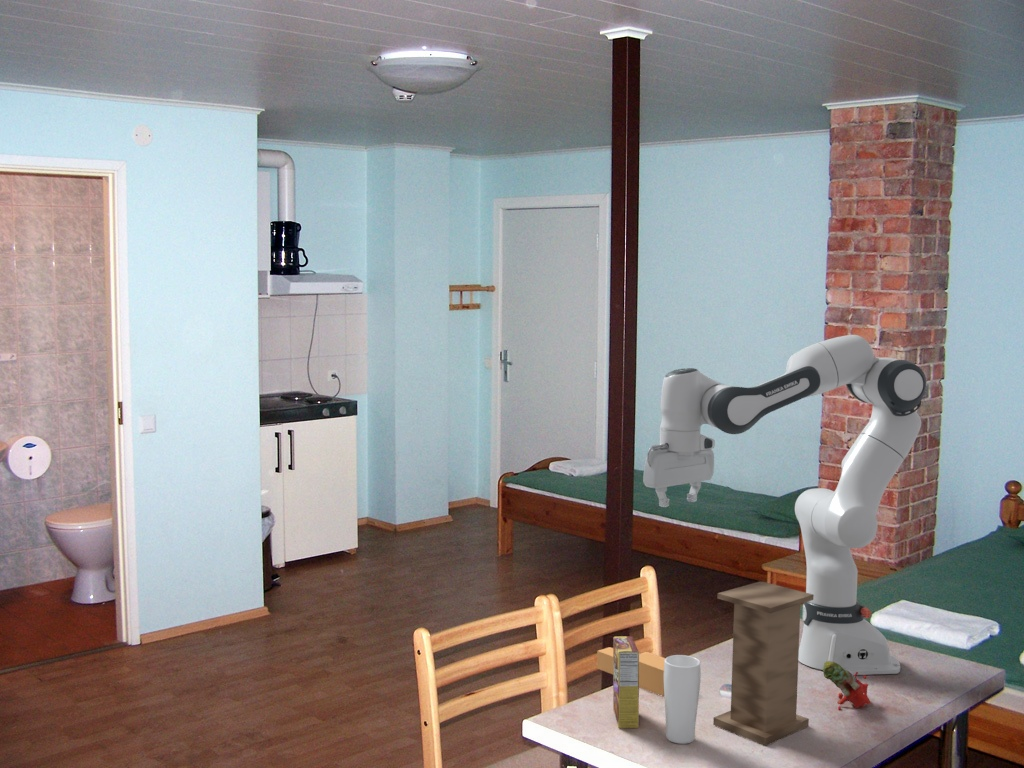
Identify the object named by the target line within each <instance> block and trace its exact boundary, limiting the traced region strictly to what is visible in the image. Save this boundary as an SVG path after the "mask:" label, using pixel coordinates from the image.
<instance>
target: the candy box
mask: <svg viewBox="0 0 1024 768" xmlns="http://www.w3.org/2000/svg"><path fill="white" fill-rule="evenodd" d="M612 638H613V640H612V641H613V642H612V644H613V645H612V646H613V647H612V648H613V674H612V676H613V677H612V681H613V682H612V686H613V687H612V690H613V691H612V695H613V698H612V699H613V700H612V701H613V703H612V705H613V707H612V708H613V713H614V717H615V720H616V723H617V728H618V729H639V724H640V723H639V722H640V721H639V719H640V718H639V711H640V705H639V704H640V703H639V702H640V699H639V698H640V695H639V694H640V692H639V691H640V687H639V654H640V651H639V649H638V647H637V645H636V642H635V640H634V637H633V636H626V635H625V636H623V635H621V636H620V635H619V636H613V637H612Z"/></svg>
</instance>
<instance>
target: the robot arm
mask: <svg viewBox="0 0 1024 768" xmlns="http://www.w3.org/2000/svg"><path fill="white" fill-rule="evenodd" d="M842 386H846V389H847V391H849V393H850V394H851V395H852V397H854V398H855V399H857V400H858V401H860V402H862V403H865V404H866V403H867V404H871V405H872V410H871V411H872V412H871V415H870V418H869V420H868V423H866V425H865V427H864V428H863V429H862V430H861V432H860V433H859V435H858V436H857V438H856V439H855V440H854V442H853V443H852V445H851V447H850V448H849V449H848V451H846V452H847V453H846V454H845V455H844V456H843V458H842V460H841V474H840V477H839V481H838V483H837V485H836V488H835V490H831V489H829V488H823V487H822V488H820V487H819V488H818V487H816V488H809V489H806V490H805V491H802V493H800V495H798V497H797V498H796V500H795V504H794V513H795V517H796V520H797V522H798V523H799V527H800V532H801V537H802V538H801V539H802V543H803V548H804V549H803V550H804V554H805V562H806V577H805V578H806V580H805V581H806V582H805V586H806V587H805V588H806V589H805V593H809V594H813V595H814V597H813V600H811V601H808V602H805V603H802V623H803V626H802V633H801V639H800V642H799V656H798V662H799V663H801V664H803V665H805V666H808V667H810V668H813V669H816V670H820V671H823V666H824V663H825V662H826V661H831V662H835V663H837V664H839V665H840V666H841V667H842V668H843V669H844V670H847V671H849V672H850V673H851V674H852V675H855V674H856V672H858V674H857V675H856V676H858V675H861V676H864V675H865V676H868V675H896V674H899V673H900V672H901V664H900V662H899V660H898V659H897V658H896V656H894V655H892V654H891V651H890V645H889V642H888V640H887V638H886V636H885V635H884V633H882V632H881V631H880V630H878V628H876V627H875V626H874V625H872V624H871V623H870V622H869V621H867V620H866V619H869V618H870V617H871V616H872V611H871V610H870V609H869V608H868V607H865V605H863V604H862V603H860V602H859V601H858V600H857V596H858V595H857V593H858V574H859V573H858V568H857V565H856V561H855V560H854V557H853V554H852V550H851V549H861V548H864V547H866V546H868V545H869V544H871V543H872V542H873V540H874V539H875V537H876V535H877V533H878V527H879V526H878V524H879V523H878V519H877V514H878V511H879V507H880V505H881V502H882V497H883V495H884V493H885V491H886V489H887V487H888V485H889V483H890V482H891V481H892V479H893V477H894V476H895V475H896V474H897V473H896V472H897V471H898V469H899V468H900V467H901V465H902V464H903V462H904V461H905V460H906V458H907V456H908V455H909V453H910V451H911V449H912V448H913V446H914V444H915V441H916V439H917V437H918V435H919V434H920V433H919V432H920V430H921V428H922V420H921V417H920V415H919V413H918V412H917V411H918V410H919V409H920V408H921V405H922V400H923V398H924V395H925V393H926V389H927V377H926V374H925V372H924V371H923V370H922V368H921V367H919V366H918V365H917V364H915V363H913V362H911V361H909V360H906V359H898V358H895V357H887V356H885V357H877V356H876V355H875V354H874V350H873V348H872V346H871V345H870V343H869V341H868V340H866V338H865V337H863V336H861V335H857V334H847V335H842V336H841V335H840V336H837V337H832V338H828V339H824V340H822V341H819V342H816V343H813V344H810V345H808V346H806V347H803V348H801V349H800V350H797V351H796V352H795V353H794V354H793V353H792V354H791V356H790V357H789V358H788V360H787V362H786V367H785V372H784V373H783V374H781V375H779V376H777V377H774V378H772V379H769V380H767V381H765V382H762V383H760V384H758V385H755V386H751V387H743V386H732V385H728V384H724V383H721V382H719V381H717V380H715V379H712V378H710V377H708V376H706V375H705V374H704V373H702V372H701V371H700V370H699V369H697V368H694V367H692V368H691V367H689V368H679V369H675V370H671V371H669V372H667V373H666V374H665V376H664V377H663V381H662V386H661V393H660V412H661V422H660V425H659V444H654V445H651V447H650V448H649V449H648V451H647V453H646V458H645V462H644V466H643V467H644V468H643V477H642V481H643V485H644V486H645V487H646V488H650V489H655V493H656V495H657V498H658V506H659V507H661V508H667V507H669V506H670V498H668V497H667V494H666V492H668V487H674V486H680V485H685V484H689V486H690V489H689V492H686V501H687V502H688V503H695V502H697V501H698V493H699V491H700V489H701V487H702V482H705V481H706V482H707V481H711V480H712V478H713V476H714V471H715V453H714V451H713V450H712V449H714V448H715V444H716V443H715V439H714V438H711V437H709V436H706V435H704V434H701V427H702V426H703V425H709V426H711V427H712V428H713V427H714V428H716V429H718V430H720V431H721V432H723V433H725V434H730V435H739V434H743V433H746V432H747V431H749V430H750V429H751V428H752V427H753V426H755V424H756V423H758V422H759V421H760V420H761V419H762V418H763V417H765V416H766V415H767V414H769V413H772V412H774V411H776V410H779V409H781V408H784V407H785V406H788V405H791V404H792V403H796V402H797V401H799V400H802V399H805V398H810V397H814V396H817V395H821V394H824V393H827V392H831V391H832V390H833V391H834V390H836V389H838V388H840V387H842Z"/></svg>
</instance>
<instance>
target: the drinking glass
mask: <svg viewBox="0 0 1024 768" xmlns="http://www.w3.org/2000/svg"><path fill="white" fill-rule="evenodd" d="M664 658H665V657H664ZM701 675H702V673H701V660H699V659H698V658H697V657H694V656H690V655H685V654H675V655H674V654H673V655H670V656H669V655H668V656H667V657H666V658H665V661H664V696H663V697H664V712H665V715H664V716H665V737H666V738H667V740H668V741H670V742H672V743H674V744H679V745H686V744H690V743H693V742H694V740H695V738H696V722H697V713H698V705H699V697H700V689H701Z"/></svg>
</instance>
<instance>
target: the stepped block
mask: <svg viewBox="0 0 1024 768" xmlns="http://www.w3.org/2000/svg"><path fill="white" fill-rule="evenodd" d="M596 656H597V657H596V669H598V670H600V671H602V672H605V673H608V674H611V675H613V647H609V646H608V647H605V648H603V649H599V650H597V653H596ZM664 661H665V657H664V656H660V655H657V654H654V653H652V652H650V651H649V652H648V651H644V652H641V653H639V689H640V688H641V689H643V690H646V691H648V692H650V691H651V693H653V692H654V693H653V694H655V693H657V694H656V695H658V694H659V695H658V696H660V695H662V696H661V697H664Z"/></svg>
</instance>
